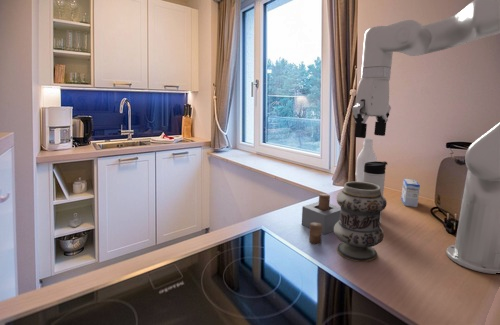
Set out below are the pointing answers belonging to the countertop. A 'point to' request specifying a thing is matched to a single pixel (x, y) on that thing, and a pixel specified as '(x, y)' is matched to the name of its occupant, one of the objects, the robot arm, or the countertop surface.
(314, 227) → the short pin
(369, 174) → the travel mug
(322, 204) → the long pin
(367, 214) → the apothecary jar
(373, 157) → the water bottle
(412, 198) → the medicine box
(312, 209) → the socket block
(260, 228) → the countertop surface
